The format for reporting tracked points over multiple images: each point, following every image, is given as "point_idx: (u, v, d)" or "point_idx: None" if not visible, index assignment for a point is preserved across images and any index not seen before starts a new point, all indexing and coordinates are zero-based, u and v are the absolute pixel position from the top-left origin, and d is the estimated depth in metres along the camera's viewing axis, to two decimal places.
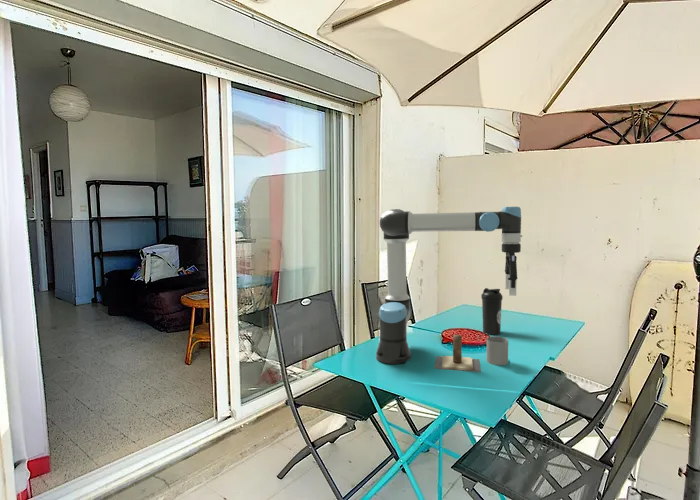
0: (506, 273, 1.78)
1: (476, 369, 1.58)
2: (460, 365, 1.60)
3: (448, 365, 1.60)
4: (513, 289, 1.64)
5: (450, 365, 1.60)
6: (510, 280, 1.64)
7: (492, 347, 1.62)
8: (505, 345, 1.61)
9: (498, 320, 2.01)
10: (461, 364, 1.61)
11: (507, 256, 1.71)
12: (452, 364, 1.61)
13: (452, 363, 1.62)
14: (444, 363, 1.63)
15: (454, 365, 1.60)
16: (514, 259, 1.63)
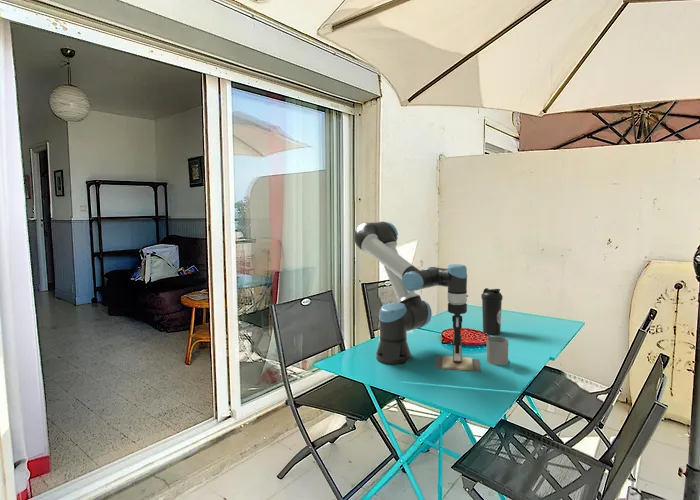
0: None
1: (476, 369, 1.58)
2: (460, 365, 1.60)
3: (448, 365, 1.60)
4: (457, 354, 1.61)
5: (450, 365, 1.60)
6: (454, 345, 1.61)
7: (492, 347, 1.62)
8: (505, 345, 1.61)
9: (498, 320, 2.01)
10: (461, 364, 1.61)
11: (454, 315, 1.64)
12: (452, 364, 1.61)
13: (452, 363, 1.62)
14: (444, 363, 1.63)
15: (454, 365, 1.60)
16: (458, 326, 1.56)
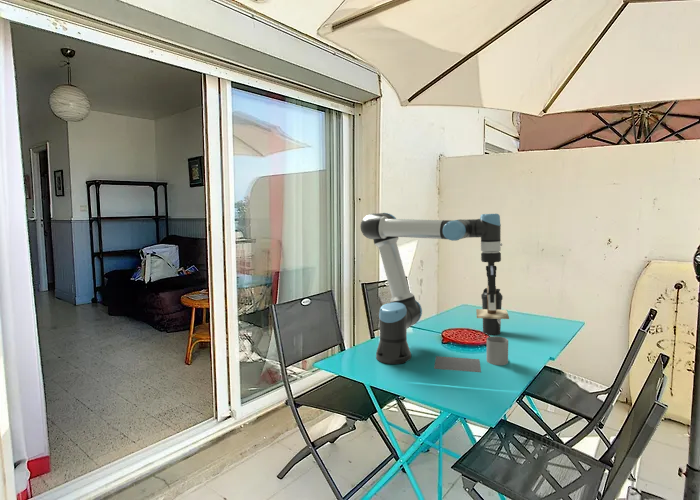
0: None
1: (476, 369, 1.58)
2: (495, 315, 1.59)
3: (483, 315, 1.59)
4: (492, 304, 1.60)
5: (485, 315, 1.59)
6: (489, 294, 1.60)
7: (492, 347, 1.62)
8: (505, 345, 1.61)
9: (498, 320, 2.01)
10: (496, 314, 1.60)
11: None
12: (487, 314, 1.60)
13: (487, 314, 1.61)
14: (478, 314, 1.62)
15: (489, 315, 1.59)
16: (493, 274, 1.55)
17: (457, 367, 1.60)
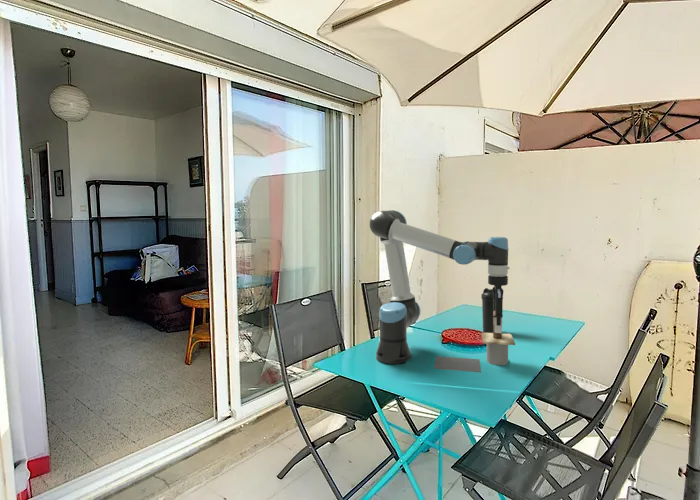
0: None
1: (476, 369, 1.58)
2: (501, 340, 1.61)
3: (489, 340, 1.61)
4: (499, 326, 1.60)
5: (491, 340, 1.61)
6: (495, 317, 1.60)
7: (492, 347, 1.62)
8: (505, 345, 1.61)
9: None
10: (502, 339, 1.62)
11: (494, 288, 1.64)
12: (493, 339, 1.62)
13: (493, 338, 1.63)
14: (484, 338, 1.63)
15: (495, 340, 1.60)
16: (500, 296, 1.57)
17: (457, 367, 1.60)
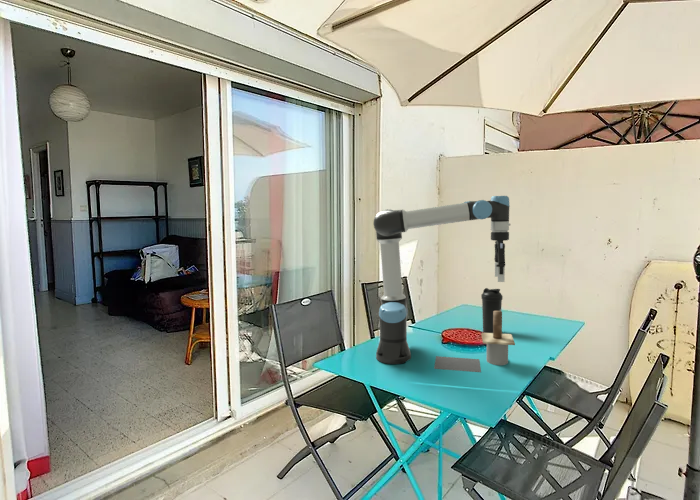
0: (495, 261, 1.83)
1: (476, 369, 1.58)
2: (501, 340, 1.61)
3: (489, 340, 1.61)
4: (501, 276, 1.69)
5: (491, 340, 1.61)
6: (498, 267, 1.69)
7: (492, 347, 1.62)
8: (505, 345, 1.61)
9: None
10: (502, 339, 1.62)
11: (496, 244, 1.76)
12: (493, 339, 1.62)
13: (493, 339, 1.63)
14: (484, 338, 1.63)
15: (495, 341, 1.60)
16: (502, 246, 1.68)
17: (457, 367, 1.60)
